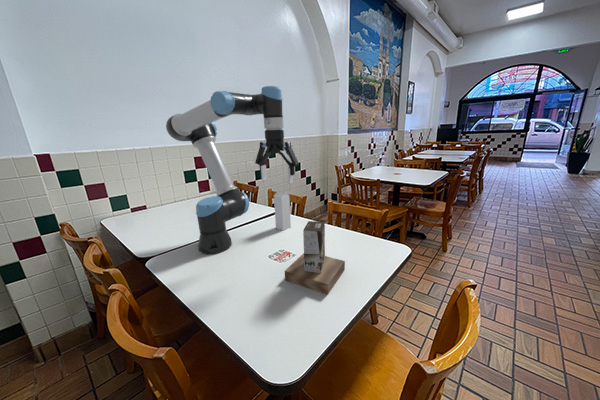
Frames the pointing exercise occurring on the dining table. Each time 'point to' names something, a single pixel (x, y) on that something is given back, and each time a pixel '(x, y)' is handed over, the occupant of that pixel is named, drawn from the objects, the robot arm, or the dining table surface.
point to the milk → (282, 210)
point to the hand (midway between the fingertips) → (277, 181)
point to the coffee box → (314, 246)
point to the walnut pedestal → (316, 274)
